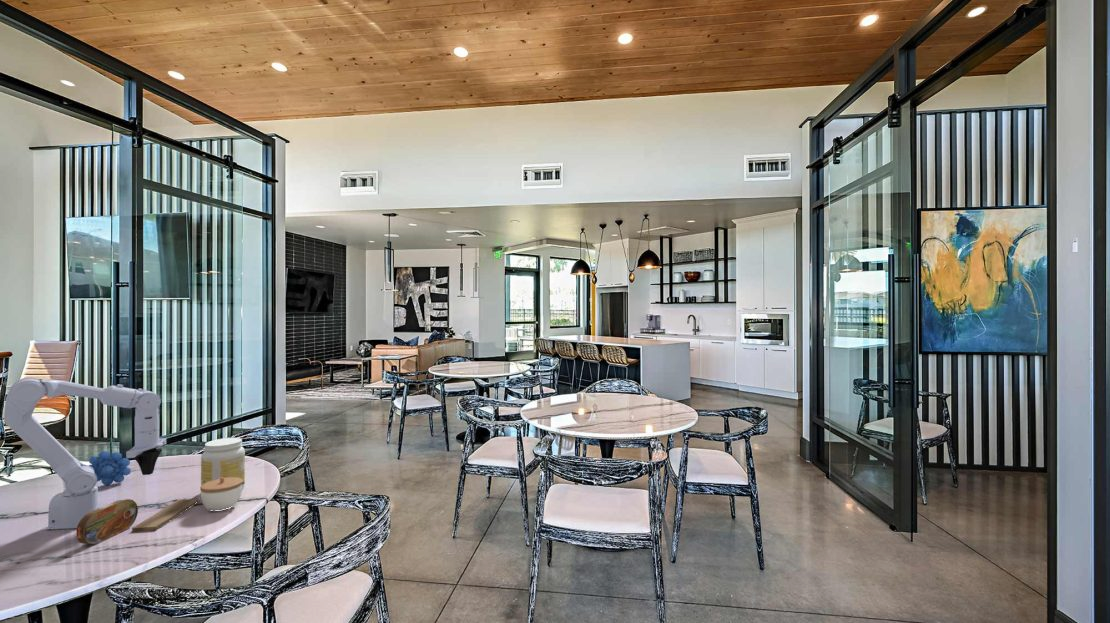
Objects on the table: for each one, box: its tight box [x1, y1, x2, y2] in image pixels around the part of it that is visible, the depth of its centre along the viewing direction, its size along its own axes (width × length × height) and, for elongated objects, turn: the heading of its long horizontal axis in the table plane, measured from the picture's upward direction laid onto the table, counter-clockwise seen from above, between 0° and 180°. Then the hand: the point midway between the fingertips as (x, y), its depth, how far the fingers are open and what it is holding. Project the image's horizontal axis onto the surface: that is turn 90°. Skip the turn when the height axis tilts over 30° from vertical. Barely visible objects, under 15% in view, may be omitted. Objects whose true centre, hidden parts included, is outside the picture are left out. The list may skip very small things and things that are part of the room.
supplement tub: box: [200, 437, 246, 489], centre depth 159 cm, size 12×12×17 cm
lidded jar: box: [200, 477, 243, 511], centre depth 145 cm, size 11×11×9 cm
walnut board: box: [131, 498, 200, 533], centre depth 139 cm, size 6×20×1 cm, turn 9°
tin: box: [75, 498, 139, 545], centre depth 126 cm, size 15×3×8 cm, turn 179°
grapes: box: [88, 450, 132, 486], centre depth 163 cm, size 12×7×12 cm, turn 126°
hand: (147, 474), depth 145 cm, fingers closed
